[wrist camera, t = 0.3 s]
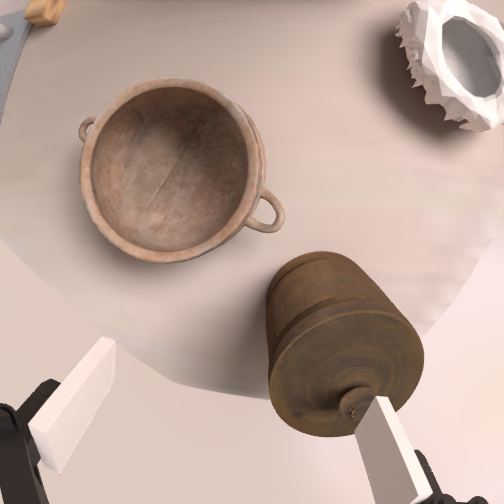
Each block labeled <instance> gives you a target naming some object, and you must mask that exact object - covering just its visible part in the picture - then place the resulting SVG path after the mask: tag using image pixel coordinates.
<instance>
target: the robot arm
mask: <svg viewBox="0 0 504 504" xmlns="http://www.w3.org/2000/svg"><path fill="white" fill-rule="evenodd" d="M115 383H116V341H115V340H113V339H110V338H107V337H104V336H102V337H101V338H100V339H99V340H98V341H97V343H96V344H95V345H94V346H93V347H92V348H91V349H90V350H89V352H88V353H87V354H86V355H85V356H84V357H83V359H82V360H81V361H80V362H79V363H78V364H77V365H76V367H75V368H74V369H73V370H72V371H71V372H70V374H69V375H68V376H67V377H66V378H65V379H64V381H63V382H62V383H60V382H57V381H55V380H53V379H49V380H47V381H45V382H43V383H41V384H40V385H39V386H38V387H37V389H36V390H35V392H33V393H32V394H31V395H30V397H28V399H27V400H26V401H25V402H24V403H23V404H22V405H21V407H20V408H19V409H18V410H17V411H15V410H14V409H13V408H12V407H11V406H9V405H7V404H3V403H0V489H1V493H2V497H3V501H4V504H49V502H48V499H47V496H46V493H45V490H44V487H43V483H42V480H41V477H40V473H39V469H38V466H37V464H38V462H39V460H40V459H41V460H42V462H43V465H44V466H45V467H47V468H49V469H51V470H53V471H54V472H56V473H58V474H60V473H61V472H62V470H63V468H64V467H65V464H66V463H67V461H68V459H69V458H70V456H71V454H72V453H73V451H74V450H75V448H76V446H77V444H78V443H79V441H80V439H81V438H82V436H83V434H84V433H85V431H86V429H87V428H88V426H89V425H90V423H91V421H92V420H93V418H94V416H95V415H96V413H97V411H98V410H99V408H100V406H101V405H102V404H103V402H104V400H105V399H106V397H107V396H108V394H109V392H110V391H111V389H112V388H113V386H114V384H115ZM354 433H355V436H356V439H357V443H358V446H359V449H360V452H361V456H362V459H363V462H364V465H365V469H366V472H367V475H368V479H369V482H370V485H371V489H372V492H373V496H374V499H375V503H376V504H488V502H487V501H486V500H485V499H484V498H483V497H480V496H475V497H473V498H472V499H471V500H470V501H468V502H467V503H465V502H456V501H455V499H454V498H453V497H452V496H450V495H448V494H442V492H441V489H440V487H439V485H438V483H437V481H436V479H435V476H434V474H433V472H431V471H432V470H431V468H430V466H428V465H429V464H428V462H427V460H426V458H425V456H424V455H423V454H422V453H421V452H420V451H419V450H413V448H412V446H411V443H410V442H409V439H408V437H407V435H406V433H405V431H404V429H403V427H402V425H401V423H400V421H399V419H398V417H397V415H396V413H395V411H394V409H393V407H392V405H391V403H390V401H389V399H388V397H381V396H375V398H374V400H373V401H372V403H371V405H370V407H369V408H368V410H367V412H366V413H365V415H364V417H363V418H362V420H361V421H360V423H359V425H358V426H357V428H356V429H355V431H354Z"/></svg>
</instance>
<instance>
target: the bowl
mask: <svg viewBox="0 0 504 504" xmlns="http://www.w3.org/2000/svg"><path fill="white" fill-rule="evenodd" d="M407 9H411V10H407V12H401V17H400V19H399V21H401V22H400V23H399V24H398V25H397V26H396V29H398V28H399V27H400V29H399V33H396V37H400V36H402V39H403V41H402V43H401V45H400V47H399V48H401V47H404V46H405V49H406V55H407V59H408V61H409V62H410V64H409V65H410V66H409V65H408V66H409V67H408V68H407V69H409V68H411V74H412V77H411V78H415V79H416V80H417V81H416V82H414V83H415V84H414V85H413V86H412V87H411V88H413V87H416V86H420V85H423V87H424V88H425V90H426V92H427V93H426V96H425V99H424V100H425V102H426V104H440V105H441V106H443V107H444V108H445V111H446V116H445V118H444V121H445V120H449V119H453V120H455V121H458V122H460V121H461V120H464V119H466V120H468V122H466V123H464V124H462V125H460V127H459V128H462V129H467V130H472V131H477V132H483V131H486V130H489V129H492V128H495V127H498V126H500V125H501V124H502V125H504V32H503V30H502V28H501V26H500V24H499V22H498V20H497V18H496V17H494V16H491V15H489V14H488V13H486V11H484V10H481V9H480V8H478V7H477V6H475V5H473V4H469V3H468V2H467V1H466V0H423V1H417V2H413V3H410V4H409V6H408V7H407ZM399 21H398V22H399ZM407 59H406V60H407Z"/></svg>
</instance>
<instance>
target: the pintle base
mask: <svg viewBox="0 0 504 504" xmlns="http://www.w3.org/2000/svg"><path fill="white" fill-rule="evenodd" d="M26 10H27V9H26ZM26 10H23V11H19V12H16V13H12V14H9V15H6V16H2V17H0V122H1V118H2V114H3V109H4V105H5V102H6V98H7V94H8V91H9V87H10V84H11V80H12V77H13V74H14V71H15V68H16V65H17V62H18V59H19V57H20V54H21V51H22V48H23V46H24V43H25V41H26V38H27V36H28V33H29V31H30V29H31V26H32V23H30V22H29V21H27V20H25V19H23V16H24V14H25V12H26Z"/></svg>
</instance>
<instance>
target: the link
mask: <svg viewBox="0 0 504 504" xmlns="http://www.w3.org/2000/svg"><path fill="white" fill-rule="evenodd" d="M66 1H67V0H31V2H30V4H29V6H28V8H27V10H26V12H25V14H24V16H23V19H25V20H27V21H29V22H30V23H32V24H34V25H36V26H38V27H41V26H47V25H53V24H56V23H57V20H58V18H59V16H60V14H61V12H62V10H63V8H64V6H65V3H66Z"/></svg>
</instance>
